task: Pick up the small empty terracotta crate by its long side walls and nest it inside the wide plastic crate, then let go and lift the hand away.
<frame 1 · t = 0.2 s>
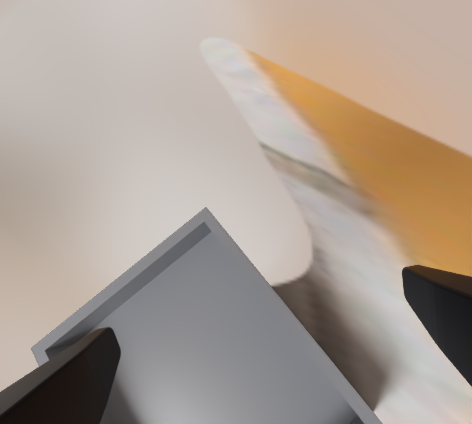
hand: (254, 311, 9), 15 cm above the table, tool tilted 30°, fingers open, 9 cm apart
big crate: (206, 372, 22), on the table
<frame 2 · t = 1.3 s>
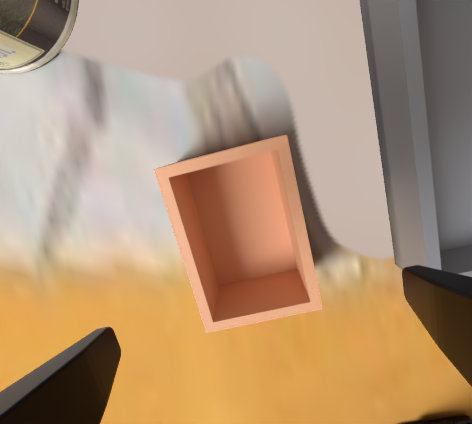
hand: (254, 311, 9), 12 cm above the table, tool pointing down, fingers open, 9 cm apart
small crate: (243, 218, 21), on the table
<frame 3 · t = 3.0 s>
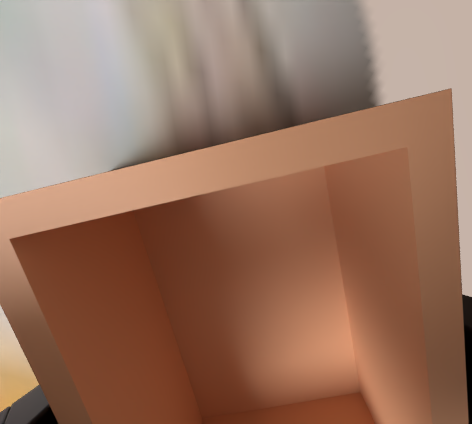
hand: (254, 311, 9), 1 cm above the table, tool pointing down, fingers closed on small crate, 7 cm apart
small crate: (252, 289, 10), on the table, touching gripper
when the fingers open (4 cm above the table, at t = 7.9 s): small crate drops 2 cm, resting on big crate.
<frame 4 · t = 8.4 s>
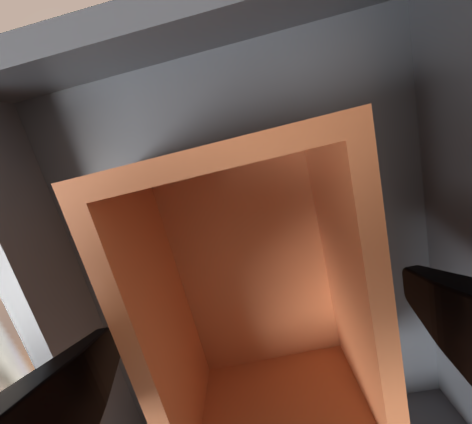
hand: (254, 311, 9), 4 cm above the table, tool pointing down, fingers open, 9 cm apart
big crate: (250, 252, 13), on the table, touching small crate
small crate: (250, 261, 12), point 1 cm above the table, touching big crate
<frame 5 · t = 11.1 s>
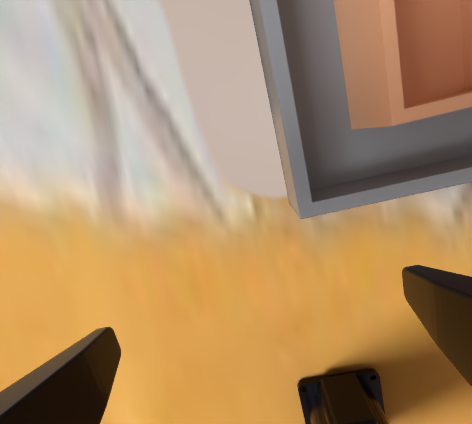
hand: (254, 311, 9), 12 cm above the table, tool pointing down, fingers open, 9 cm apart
big crate: (392, 33, 17), on the table, touching small crate
small crate: (400, 25, 16), point 1 cm above the table, touching big crate
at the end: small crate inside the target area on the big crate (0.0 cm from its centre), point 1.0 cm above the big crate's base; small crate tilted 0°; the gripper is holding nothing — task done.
